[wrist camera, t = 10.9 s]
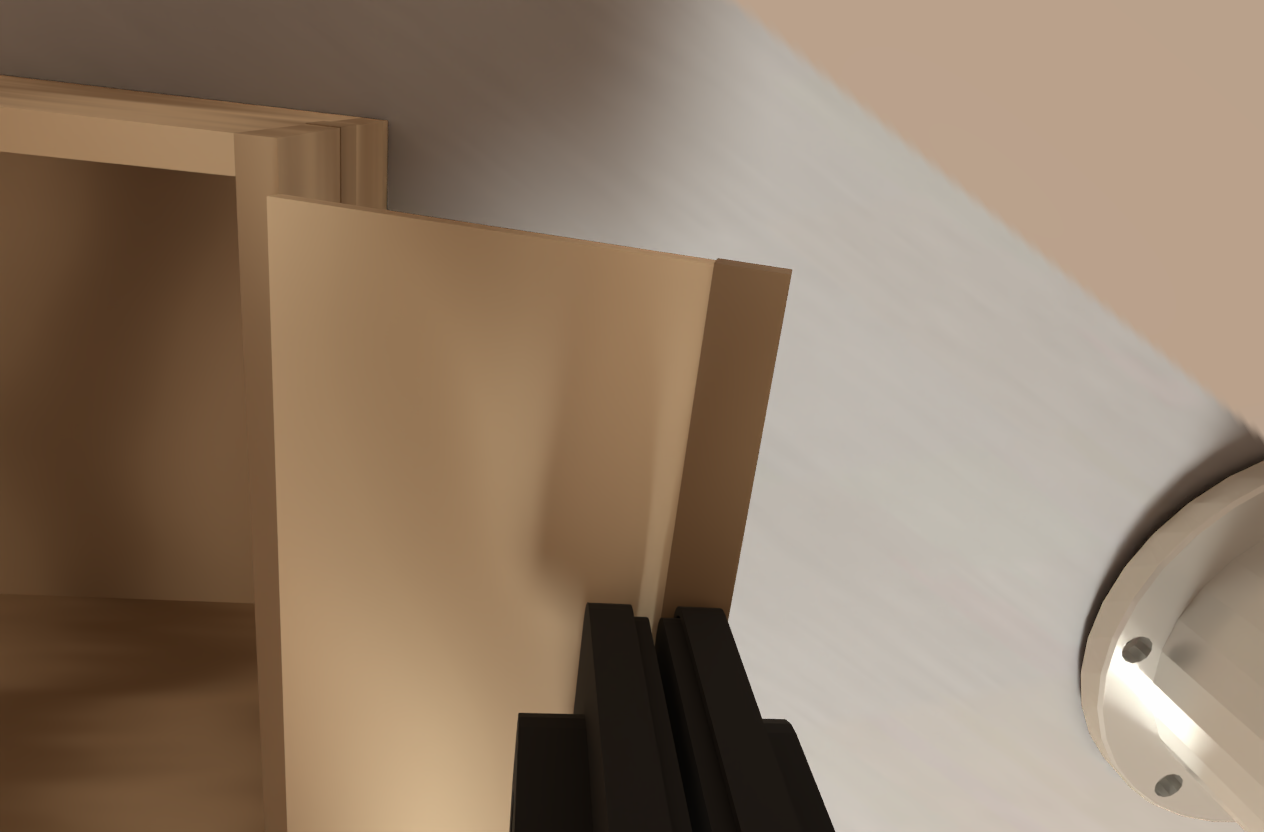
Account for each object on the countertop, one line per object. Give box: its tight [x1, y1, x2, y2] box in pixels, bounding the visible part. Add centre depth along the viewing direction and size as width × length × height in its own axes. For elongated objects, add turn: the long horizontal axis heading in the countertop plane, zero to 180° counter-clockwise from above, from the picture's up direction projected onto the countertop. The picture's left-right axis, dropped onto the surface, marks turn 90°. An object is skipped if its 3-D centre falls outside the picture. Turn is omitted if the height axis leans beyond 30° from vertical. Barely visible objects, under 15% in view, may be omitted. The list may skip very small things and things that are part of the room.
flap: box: [267, 194, 792, 832], centre depth 11 cm, size 6×11×1 cm, turn 173°
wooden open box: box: [0, 75, 388, 832], centre depth 15 cm, size 11×12×8 cm
